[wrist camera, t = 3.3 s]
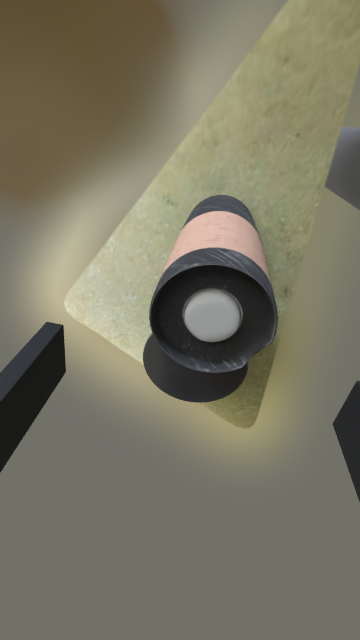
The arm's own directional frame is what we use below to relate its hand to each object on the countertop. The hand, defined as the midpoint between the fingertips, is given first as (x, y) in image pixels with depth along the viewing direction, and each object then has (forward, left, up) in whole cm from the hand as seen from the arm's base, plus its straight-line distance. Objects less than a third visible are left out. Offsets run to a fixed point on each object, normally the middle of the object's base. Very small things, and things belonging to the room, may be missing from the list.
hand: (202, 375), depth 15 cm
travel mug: (0, 0, -25) cm, 25 cm away
